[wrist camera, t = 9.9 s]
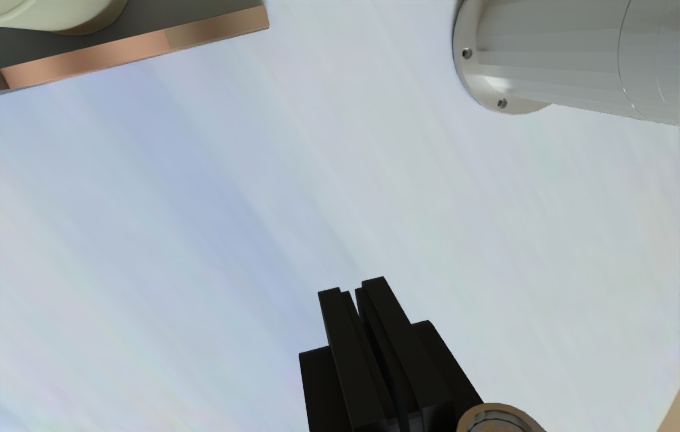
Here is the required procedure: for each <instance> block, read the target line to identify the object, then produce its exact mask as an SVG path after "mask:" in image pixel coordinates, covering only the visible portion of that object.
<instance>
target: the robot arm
mask: <svg viewBox="0 0 680 432" xmlns="http://www.w3.org/2000/svg"><path fill="white" fill-rule="evenodd" d="M463 50H464V51H465V55H464V56H462V52H463ZM453 54H454V62H455V66H456V70H457V74H458V76H459V78H460V81H461V83H462V85H463V87H464V88H465V89H466V91H467V92H468V93H469V95H470V96H471V97H472V98H473V99H474V100H475V101H477V102H478V103H479V104H480V105H482V106H484V107H486V108H487V109H489V110H492V111H495V112H498V113H502V114H509V115H521V114H528V113H532V112H535V111H539V110H541V109H543V108H545V107H547V106H549V105H551V104H557V105H562V106H568V107H573V108H579V109H584V110H590V111H595V112H601V113H606V114H612V115H617V116H622V117H628V118H633V119H639V120H644V121H650V122H656V123H663V124H668V125H674V126H680V0H464V2H463V4H462V6H461V8H460V11H459V13H458V17H457V21H456V25H455V28H454V38H453ZM498 102H499V104H498ZM355 295H356V301H357V307H358V312H359V315H358V313H357V310H356V308H355V305H354V303H353V300H352V297H351V295H350V292H349V291H345V292H341V291H340V288H339V287H337V288H332V289H328V290H324V291H320V292H318V297H319V301H320V306H321V311H322V315H323V320H324V325H325V329H326V334H327V339H328V344H329V346H325V347H321V348H318V349H314V350H310V351H306V352H302V353H299V361H300V368H301V375H302V382H303V389H304V396H305V403H306V410H307V417H308V424H309V431H310V432H546V431H545V430H544V429H543V428H542V427H541V426H540V425H539V424H538V423H537V422H536V421H535V420H534V419H533V418H531V417H530V416H529V415H528V414H526V413H525V412H523V411H521V410H519V409H517V408H515V407H513V406H510V405H506V404H501V403H484V402H483V401H482V399H481V398H480V396H479V395H478V393H477V392H476V390H475V388H474V387H473V385H472V384H471V382H470V381H469V379H468V378H467V376H466V375H465V373H464V372H463V370H462V369H461V367H460V366H459V364H458V362H457V361H456V359H455V358H454V356H453V355H452V353H451V352H450V350H449V349H448V347H447V346H446V344H445V343H444V341H443V339H442V338H441V336H440V335H439V333H438V332H437V330H436V329H435V327H434V326H433V324H432V323H431V322H430V321H429V320H425V321H421V322H418V323H414V324H411V323H410V321H409V320H408V318H407V316H406V314H405V313H404V311H403V309H402V307H401V306H400V304H399V302H398V300H397V299H396V297H395V295H394V293H393V292H392V290H391V288H390V287H389V285H388V283H387V281H386V280H385V278H384V277H383V276H382V277H378V278H373V279H369V280H365V281H362V287H361V288H357V289H355Z"/></svg>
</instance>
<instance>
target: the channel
mask: <svg viewBox="0 0 680 432" xmlns="http://www.w3.org/2000/svg"><path fill="white" fill-rule="evenodd" d="M269 25H270V24H269V21H268V17H267V13H266V10H265V6H264V5H261V6H257V7H252V8H248V9H244V10H240V11H236V12H232V13H228V14H224V15H219V16H215V17H211V18H207V19H203V20H199V21H195V22H191V23H186V24H182V25H178V26H174V27H170V28H166V29H162V30H158V31H153V32H149V33H145V34H141V35H137V36H133V37H129V38H125V39H121V40H116V41H112V42H108V43H104V44H100V45H96V46H92V47H88V48H83V49H79V50H75V51H71V52H67V53H63V54H59V55H55V56H50V57H46V58H42V59H38V60H34V61H30V62H26V63H22V64H18V65H13V66H9V67H5V68H1V69H0V71H1V73H2V75H3V76H4V78H5V80H6V82H7V84H8V86H9V88H10V89H13V88H20V87H26V86H32V85H39V84H45V83H51V82H55V81H59V80H63V79H67V78H71V77H75V76H79V75H83V74H87V73H91V72H95V71H99V70H103V69H107V68H111V67H115V66H119V65H123V64H127V63H131V62H136V61H140V60H144V59H148V58H152V57H156V56H160V55H164V54H168V53H172V52H176V51H180V50H184V49H188V48H192V47H196V46H200V45H204V44H208V43H212V42H216V41H220V40H224V39H229V38H233V37H237V36H241V35H245V34H249V33H253V32H257V31H261V30H265V29H268V28H269Z"/></svg>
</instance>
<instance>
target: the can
mask: <svg viewBox="0 0 680 432" xmlns="http://www.w3.org/2000/svg"><path fill="white" fill-rule="evenodd" d="M127 1H128V0H0V27H12V28H22V29H33V30H44V31H49V32H52V33H56V34H60V35H68V36H80V35H87V34H92V33H94V32H97V31H100V30H102V29H104V28H105V27H107V26H109V25H110V24H111V23H112V22H114V21H115V20H116V19H117V18H118V16H119V15H120V14H121V12H122V11H123V9H124V8H125V6H126V4H127Z"/></svg>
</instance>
